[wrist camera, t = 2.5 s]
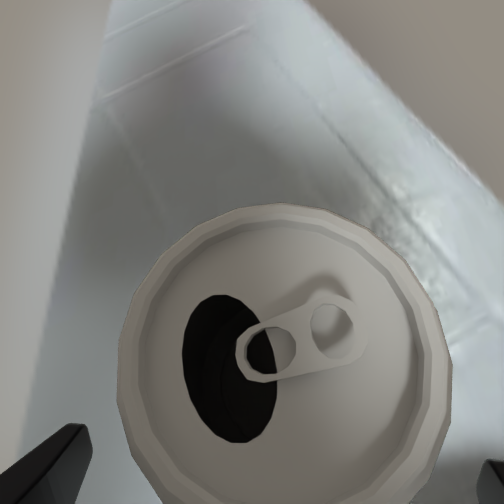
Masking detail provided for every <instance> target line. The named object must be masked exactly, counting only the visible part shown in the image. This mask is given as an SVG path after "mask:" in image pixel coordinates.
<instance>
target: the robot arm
mask: <svg viewBox="0 0 504 504" xmlns="http://www.w3.org/2000/svg"><path fill="white" fill-rule="evenodd" d="M92 453H93V448H92V443H91V440H90V436H89V432H88V428H87V426H86V425H85V424H77V423H69V424H67V425H65V426H64V427H62V428H61V429H60V430H58V431H57V432H56V433H54V434H53V435H52V436H50V437H49V438H48V439H47V440H45V441H44V442H43V443H41V444H40V445H39V446H37V447H36V448H35V449H33V450H32V451H31V452H29V453H28V454H27V455H25V456H24V457H23V458H21V459H20V460H19V461H17V462H16V463H15V464H13V465H12V466H11V467H9V468H8V469H7V470H6V471H4V472H3V473H2V474H0V504H75V501H76V499H77V496H78V493H79V490H80V488H81V485H82V482H83V480H84V477H85V474H86V472H87V469H88V466H89V463H90V461H91V458H92ZM476 492H477V497H478V501H479V504H504V460H495V459H487V460H485V461H484V463H483V466H482V469H481V472H480V475H479V478H478V480H477V484H476Z"/></svg>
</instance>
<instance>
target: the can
mask: <svg viewBox="0 0 504 504" xmlns="http://www.w3.org/2000/svg"><path fill="white" fill-rule="evenodd" d="M452 367H453V364H452V361H451V357H450V354H449V350H448V347H447V343H446V340H445V336H444V333H443V329H442V326H441V322H440V319H439V315H438V312H437V310H436V308H435V307H434V304H433V302H432V300H431V299H430V297H429V296H428V294H427V293H426V291H425V290H424V288H423V286H422V285H421V283H420V282H419V280H418V279H417V277H416V276H415V274H414V273H413V271H412V270H411V268H410V266H409V265H408V263H407V262H406V260H405V259H404V258H402V257H401V256H400V255H399V254H398V253H397V252H395V251H394V250H393V249H392V248H391V247H390V246H388V245H387V244H386V243H385V242H384V241H383V240H381V239H380V238H379V237H378V236H377V235H376V234H374V233H373V232H372V231H371V230H370V229H368V228H367V227H364V226H362V225H360V224H358V223H356V222H353V221H351V220H349V219H347V218H345V217H342V216H340V215H338V214H336V213H333V212H331V211H329V210H327V209H322V208H316V207H309V206H302V205H295V204H289V203H282V202H280V203H272V204H265V205H257V206H250V207H242V208H236V209H234V210H232V211H229V212H227V213H225V214H222V215H220V216H218V217H215V218H213V219H211V220H208V221H206V222H204V223H202V224H199V225H197V226H195V227H194V228H193V229H192V230H190V231H189V232H188V233H187V234H186V235H184V236H183V237H182V238H181V239H180V240H178V241H177V242H176V243H175V244H173V245H172V246H171V247H170V248H169V249H167V250H166V251H165V252H164V253H162V254H161V255H160V257H159V258H158V260H157V261H156V263H155V264H154V266H153V267H152V268H151V270H150V271H149V273H148V274H147V276H146V277H145V279H144V280H143V282H142V283H141V284H140V286H139V287H138V289H137V290H136V292H135V293H134V296H133V299H132V302H131V305H130V308H129V311H128V314H127V317H126V320H125V323H124V326H123V329H122V332H121V335H120V338H119V348H118V375H117V405H118V408H119V412H120V415H121V419H122V423H123V426H124V430H125V434H126V437H127V441H128V444H129V448H130V452H131V455H132V457H133V459H134V460H135V462H136V463H137V465H138V466H139V468H140V469H141V471H142V472H143V474H144V475H145V477H146V478H147V480H148V481H149V483H150V484H151V486H152V487H153V489H154V491H155V492H156V494H157V495H158V497H159V498H160V500H161V501H162V503H163V504H408V503H409V502H410V501H411V500H412V498H413V497H414V496H415V495H416V494H417V493H418V492H419V490H420V489H421V488H422V487H423V486H424V485H425V484H426V482H427V481H428V480H429V479H430V476H431V474H432V471H433V468H434V466H435V463H436V460H437V458H438V455H439V452H440V450H441V447H442V445H443V442H444V439H445V437H446V434H447V431H448V429H449V426H450V423H451V400H452Z"/></svg>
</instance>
